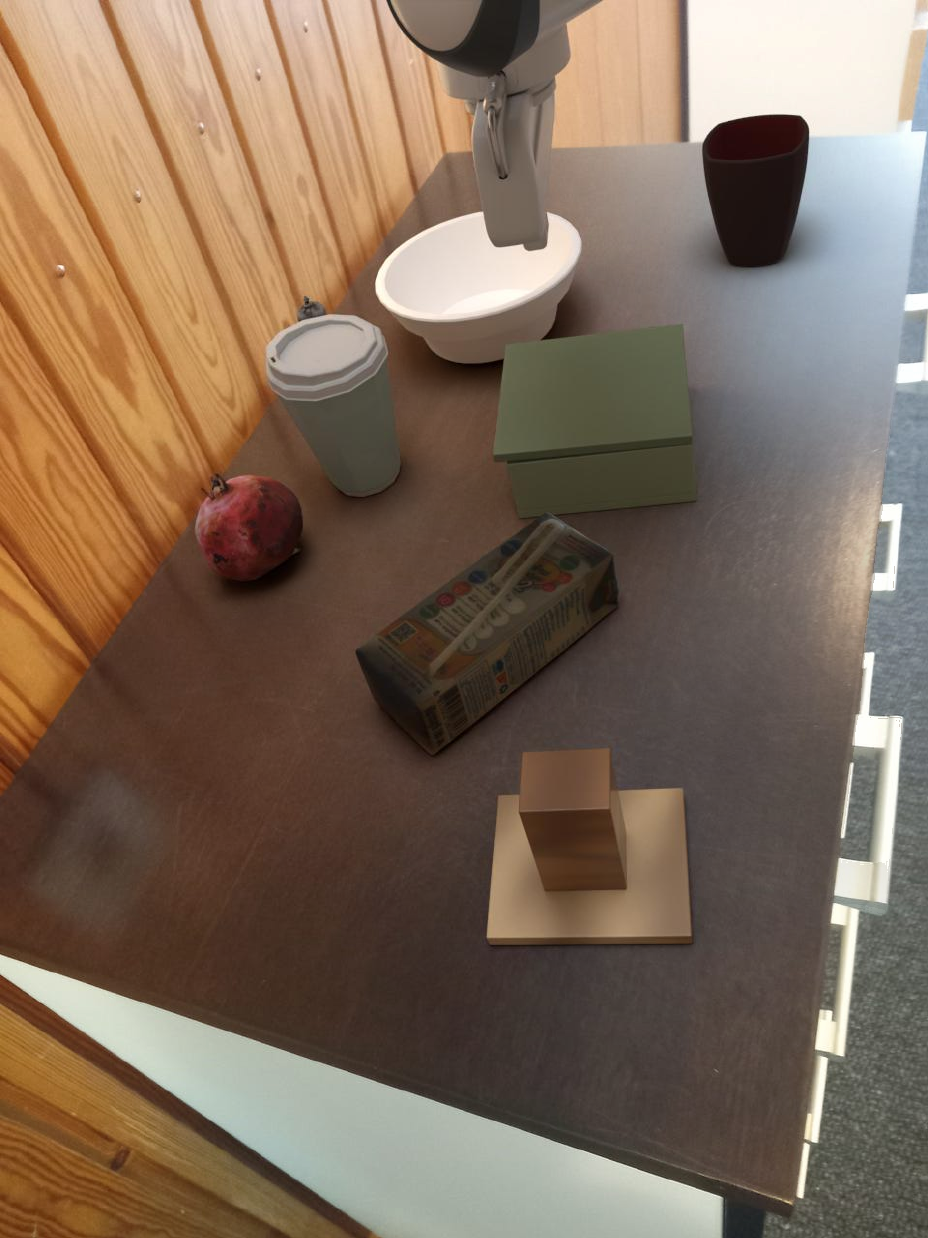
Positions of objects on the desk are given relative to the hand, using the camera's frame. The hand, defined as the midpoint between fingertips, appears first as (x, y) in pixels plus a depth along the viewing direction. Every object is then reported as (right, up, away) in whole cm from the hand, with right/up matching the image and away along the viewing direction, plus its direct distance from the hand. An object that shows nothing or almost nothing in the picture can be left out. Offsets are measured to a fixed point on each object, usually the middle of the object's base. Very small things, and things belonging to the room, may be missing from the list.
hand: (537, 240), depth 77 cm
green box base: (+7, -13, +14) cm, 21 cm away
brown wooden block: (+2, -43, -14) cm, 45 cm away
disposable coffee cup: (-14, -15, +19) cm, 28 cm away
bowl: (-3, +2, +31) cm, 31 cm away
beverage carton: (-3, -31, 0) cm, 31 cm away
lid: (+5, -9, +10) cm, 14 cm away
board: (+2, -44, -13) cm, 46 cm away
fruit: (-23, -23, +14) cm, 36 cm away
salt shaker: (-18, -6, +29) cm, 34 cm away
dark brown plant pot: (+26, +11, +32) cm, 42 cm away
